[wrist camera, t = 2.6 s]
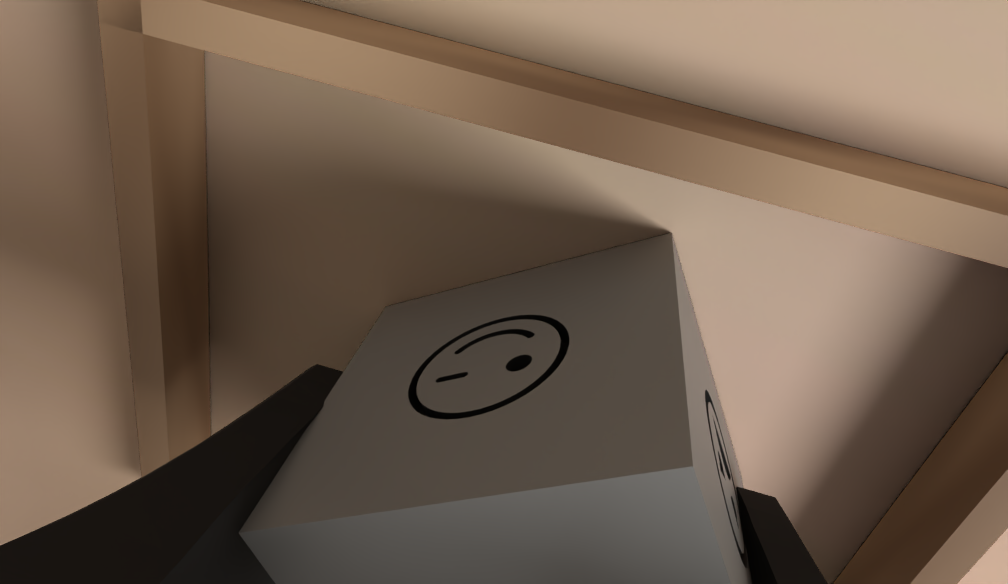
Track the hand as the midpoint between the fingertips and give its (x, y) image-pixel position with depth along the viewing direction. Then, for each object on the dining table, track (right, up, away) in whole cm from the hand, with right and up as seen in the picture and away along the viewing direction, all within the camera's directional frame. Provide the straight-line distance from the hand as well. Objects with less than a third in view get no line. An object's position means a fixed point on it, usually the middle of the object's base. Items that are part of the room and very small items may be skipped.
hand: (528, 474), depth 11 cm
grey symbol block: (+1, +1, +1) cm, 2 cm away
